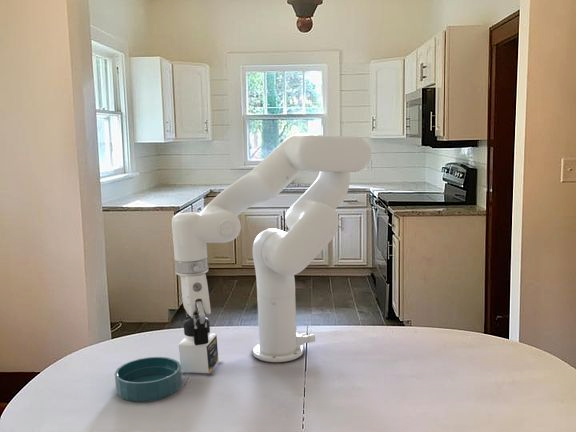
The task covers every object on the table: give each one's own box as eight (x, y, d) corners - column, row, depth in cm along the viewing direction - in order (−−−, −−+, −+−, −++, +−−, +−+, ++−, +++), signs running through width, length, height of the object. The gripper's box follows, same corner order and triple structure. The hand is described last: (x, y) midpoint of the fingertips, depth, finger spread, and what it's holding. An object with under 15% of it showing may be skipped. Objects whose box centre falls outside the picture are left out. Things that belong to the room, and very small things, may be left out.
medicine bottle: (209, 373, 140) (205, 324, 138) (180, 372, 141) (176, 324, 139) (219, 361, 146) (215, 314, 144) (191, 360, 148) (187, 313, 146)
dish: (175, 370, 143) (174, 352, 142) (187, 395, 130) (186, 376, 129) (113, 381, 138) (112, 363, 137) (119, 408, 125) (117, 388, 124)
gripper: (216, 272, 133) (222, 347, 136) (199, 256, 149) (205, 324, 152) (182, 277, 130) (189, 353, 133) (169, 260, 146) (175, 329, 149)
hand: (197, 337), depth 143 cm, fingers closed on medicine bottle, 7 cm apart
